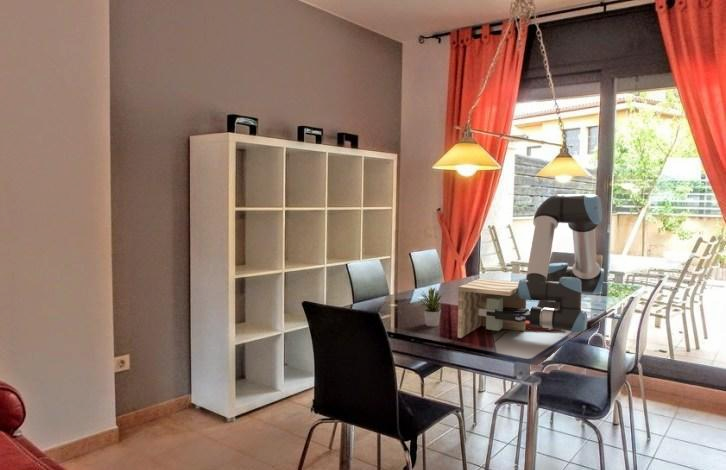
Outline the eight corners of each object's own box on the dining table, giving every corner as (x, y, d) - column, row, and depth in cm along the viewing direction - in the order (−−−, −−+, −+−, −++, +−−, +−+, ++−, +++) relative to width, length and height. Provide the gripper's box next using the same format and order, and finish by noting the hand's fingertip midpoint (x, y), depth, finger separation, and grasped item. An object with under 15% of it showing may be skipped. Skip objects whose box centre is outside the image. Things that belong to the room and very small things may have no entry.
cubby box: (478, 324, 226) (479, 278, 224) (525, 330, 216) (526, 282, 214) (457, 337, 205) (458, 286, 203) (508, 344, 195) (509, 291, 193)
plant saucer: (514, 320, 234) (514, 313, 234) (557, 322, 232) (558, 314, 231) (520, 331, 217) (520, 323, 216) (566, 333, 214) (567, 324, 214)
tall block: (490, 326, 213) (490, 296, 212) (502, 327, 210) (503, 297, 209) (486, 329, 209) (486, 298, 208) (498, 330, 206) (499, 299, 205)
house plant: (411, 320, 232) (411, 283, 231) (442, 320, 233) (443, 283, 232) (416, 328, 218) (417, 288, 217) (450, 328, 219) (450, 288, 218)
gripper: (536, 332, 192) (473, 324, 204) (547, 322, 208) (488, 315, 220) (536, 312, 192) (473, 305, 204) (547, 303, 207) (488, 297, 219)
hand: (481, 310), depth 212 cm, fingers closed on tall block, 5 cm apart
